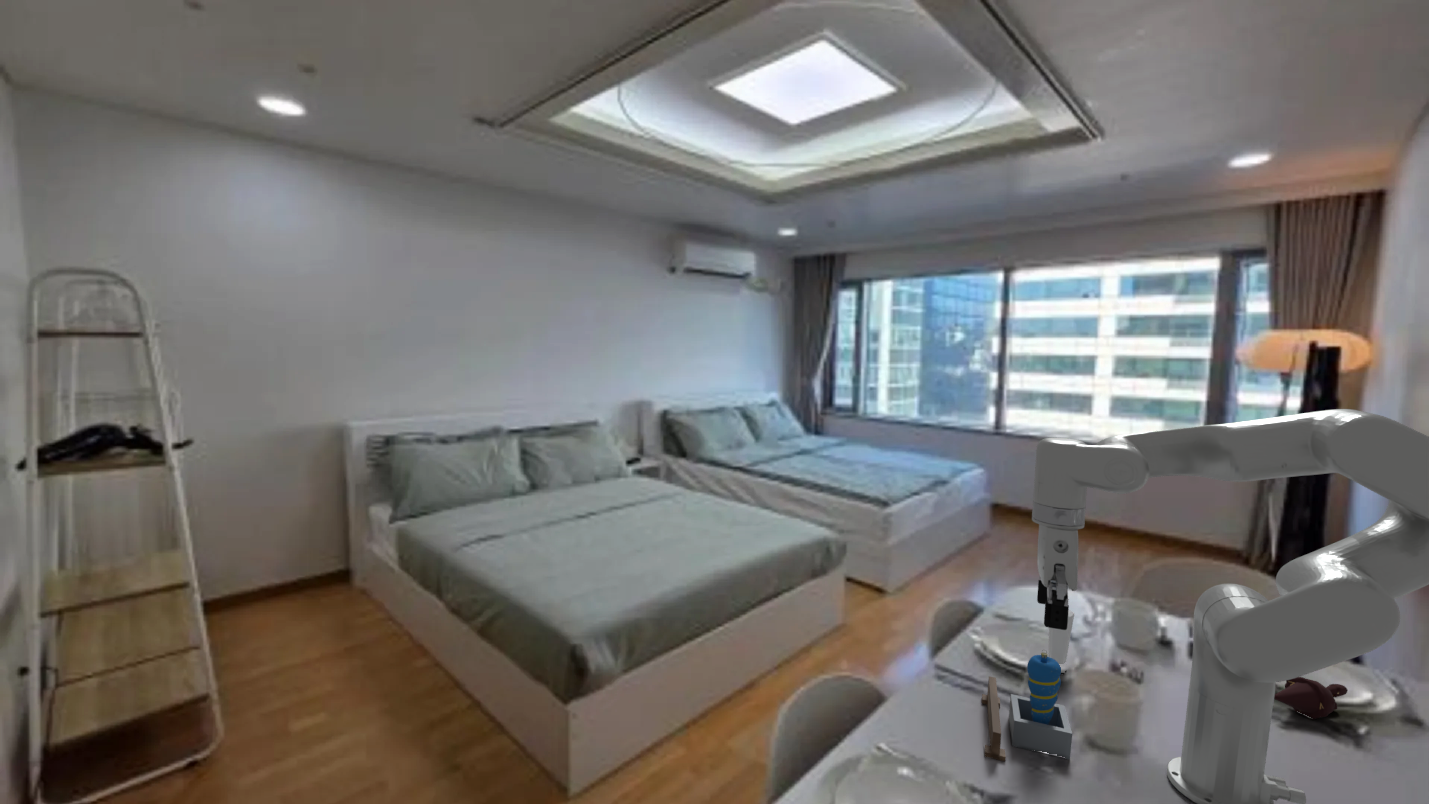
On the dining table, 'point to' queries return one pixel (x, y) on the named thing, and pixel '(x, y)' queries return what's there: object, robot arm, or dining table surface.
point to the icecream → (1310, 696)
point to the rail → (993, 722)
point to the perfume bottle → (1060, 641)
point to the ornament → (1043, 686)
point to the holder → (1039, 729)
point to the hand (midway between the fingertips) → (1051, 615)
